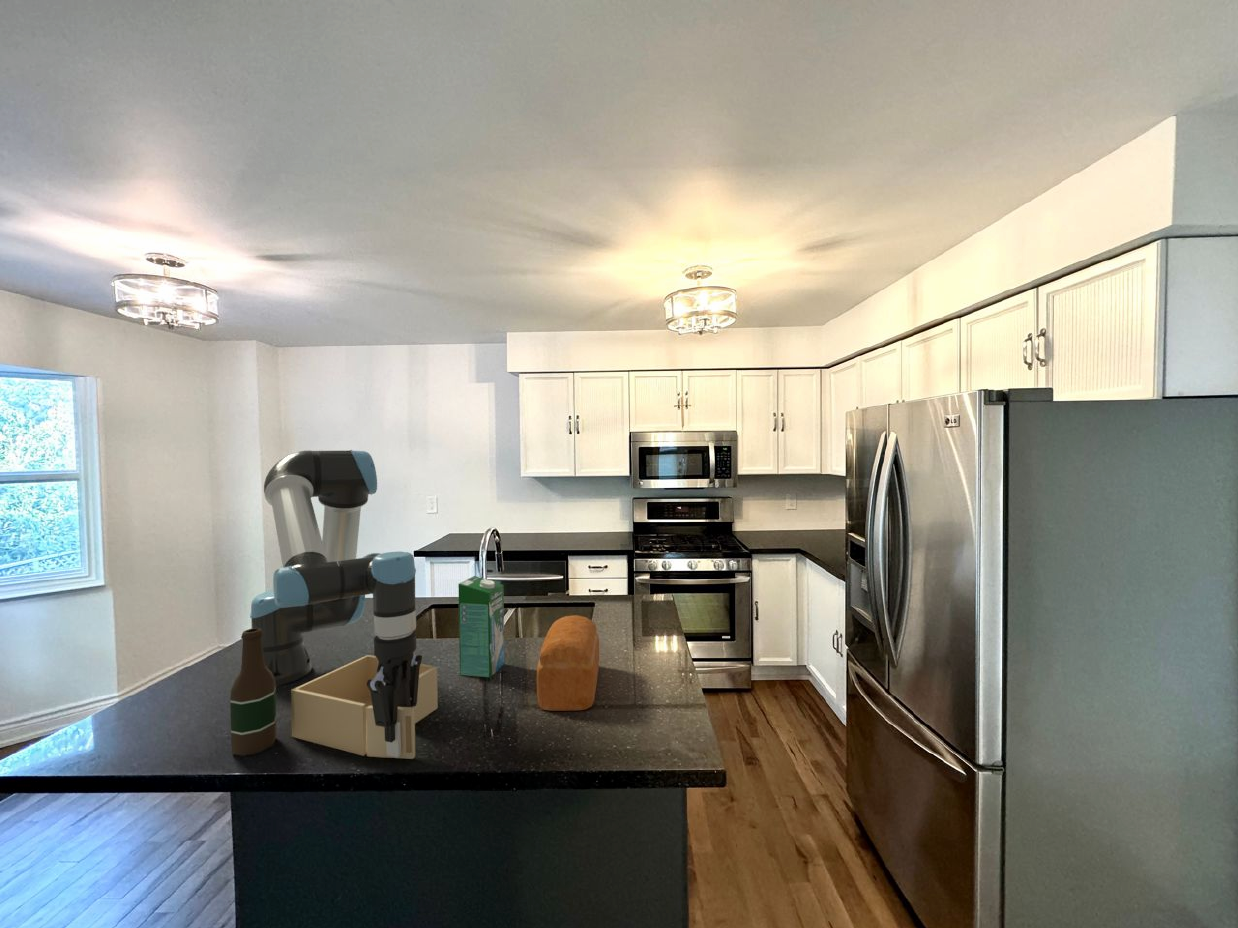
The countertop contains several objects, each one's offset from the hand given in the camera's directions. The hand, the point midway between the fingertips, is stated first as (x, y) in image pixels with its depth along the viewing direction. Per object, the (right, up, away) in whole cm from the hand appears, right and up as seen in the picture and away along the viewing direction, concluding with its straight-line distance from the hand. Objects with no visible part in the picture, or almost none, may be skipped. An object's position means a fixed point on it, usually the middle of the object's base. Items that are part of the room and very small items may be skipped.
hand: (397, 751), depth 99 cm
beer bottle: (-32, -2, +5) cm, 32 cm away
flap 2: (-1, -1, +15) cm, 15 cm away
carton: (-13, -1, +14) cm, 19 cm away
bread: (+31, -1, +31) cm, 44 cm away
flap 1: (-1, -1, 0) cm, 2 cm away
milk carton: (+6, -1, +41) cm, 41 cm away
